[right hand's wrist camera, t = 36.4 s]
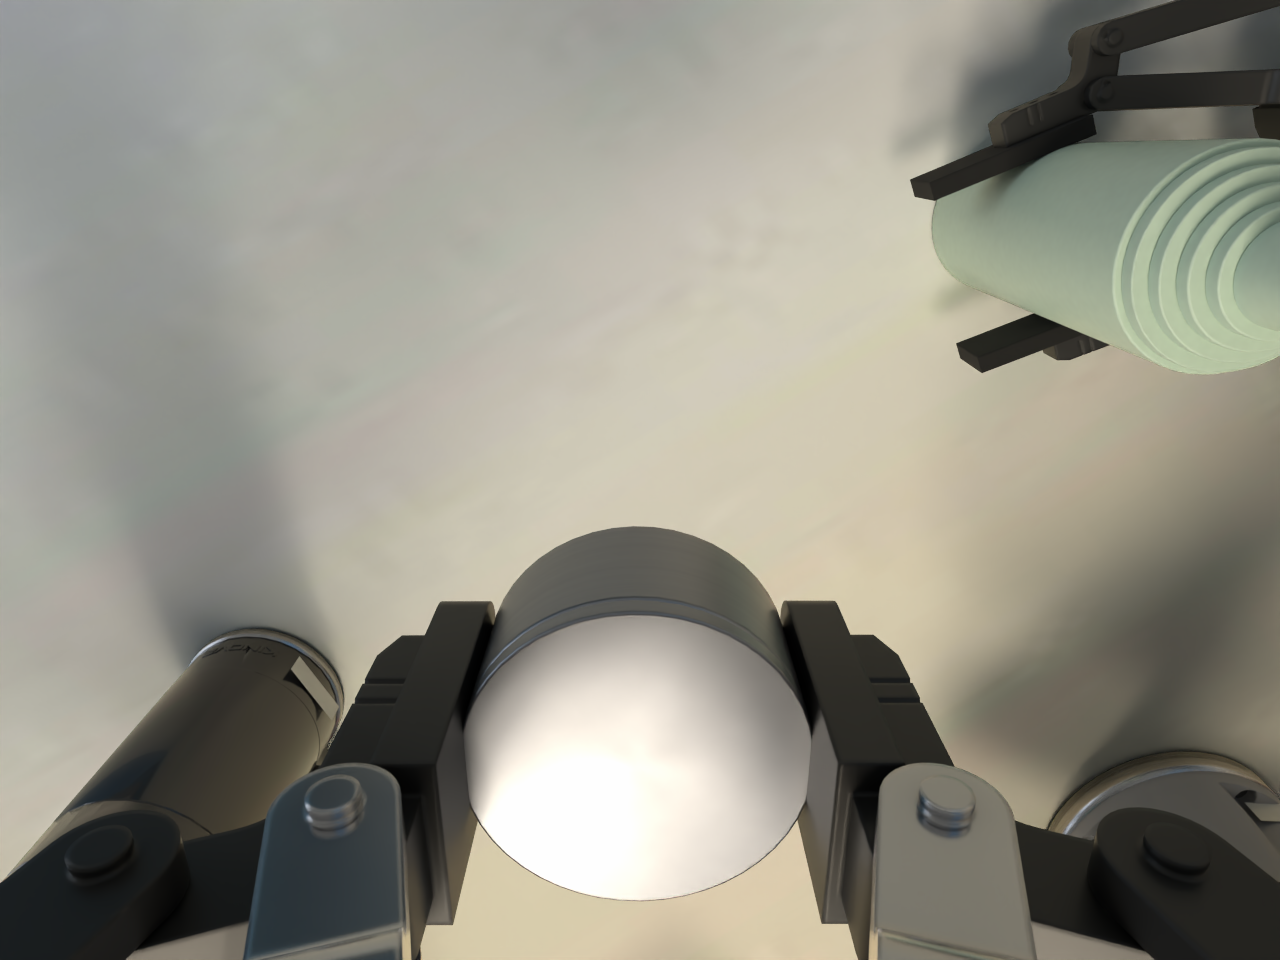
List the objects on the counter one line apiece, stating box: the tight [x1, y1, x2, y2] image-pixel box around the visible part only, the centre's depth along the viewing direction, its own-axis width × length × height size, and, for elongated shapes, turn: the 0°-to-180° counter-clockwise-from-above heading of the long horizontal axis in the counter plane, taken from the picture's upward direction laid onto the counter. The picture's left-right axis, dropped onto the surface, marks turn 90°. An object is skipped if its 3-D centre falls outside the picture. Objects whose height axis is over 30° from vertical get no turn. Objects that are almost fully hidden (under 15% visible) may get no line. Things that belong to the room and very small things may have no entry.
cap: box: [463, 526, 812, 901], centre depth 11 cm, size 4×4×2 cm
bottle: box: [932, 138, 1280, 375], centre depth 31 cm, size 7×7×23 cm
